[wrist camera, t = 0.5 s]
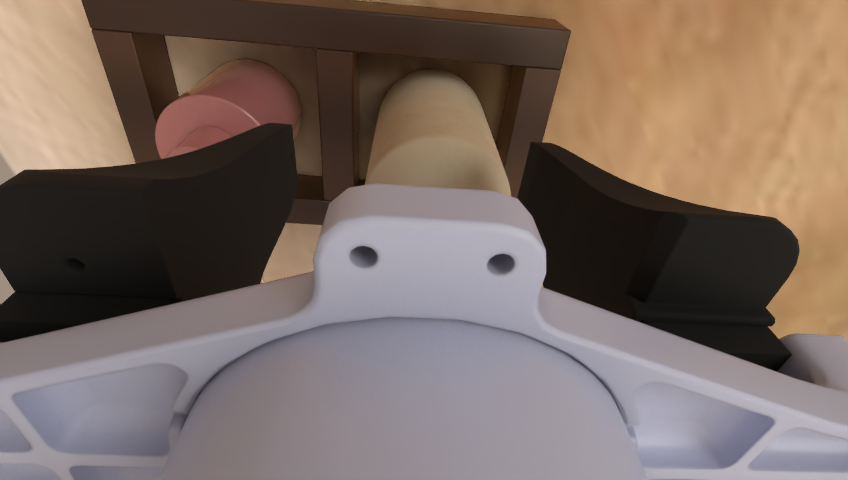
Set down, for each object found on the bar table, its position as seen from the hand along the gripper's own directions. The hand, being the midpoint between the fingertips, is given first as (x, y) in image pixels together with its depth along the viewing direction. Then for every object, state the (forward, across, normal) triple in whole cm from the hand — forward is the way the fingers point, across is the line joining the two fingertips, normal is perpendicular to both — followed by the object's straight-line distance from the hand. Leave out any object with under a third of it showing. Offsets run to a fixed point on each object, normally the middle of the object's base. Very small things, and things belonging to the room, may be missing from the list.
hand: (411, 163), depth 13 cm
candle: (+10, -1, +2) cm, 11 cm away
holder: (+10, +3, +2) cm, 11 cm away
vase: (+10, +8, +2) cm, 13 cm away
